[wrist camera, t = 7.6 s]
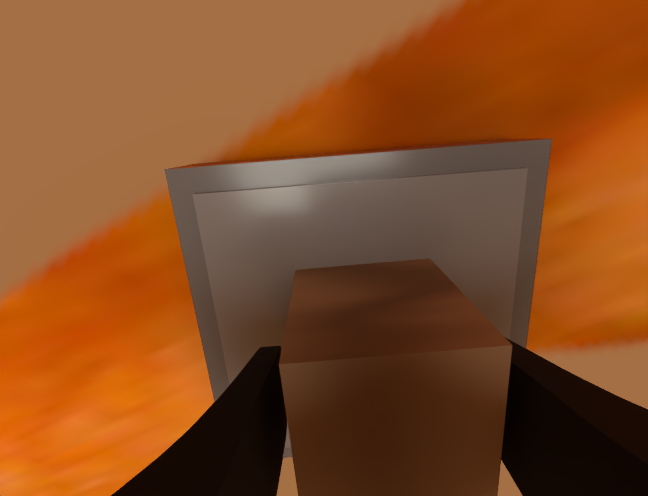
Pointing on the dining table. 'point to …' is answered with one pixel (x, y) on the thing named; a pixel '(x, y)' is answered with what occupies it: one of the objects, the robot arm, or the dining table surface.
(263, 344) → the tray
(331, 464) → the block
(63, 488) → the dining table surface
